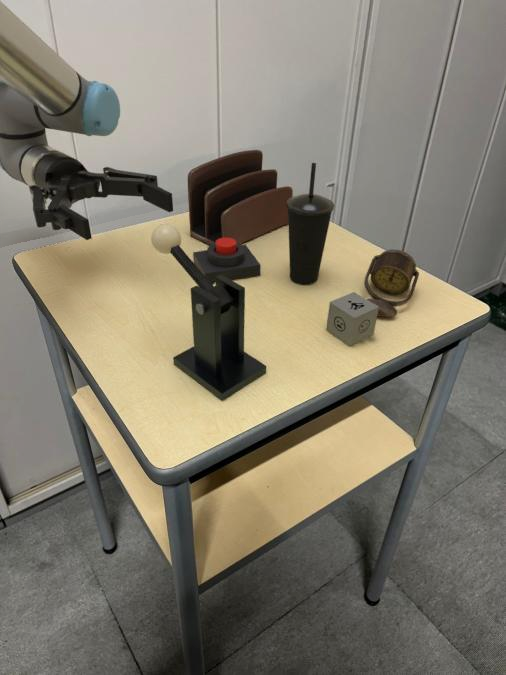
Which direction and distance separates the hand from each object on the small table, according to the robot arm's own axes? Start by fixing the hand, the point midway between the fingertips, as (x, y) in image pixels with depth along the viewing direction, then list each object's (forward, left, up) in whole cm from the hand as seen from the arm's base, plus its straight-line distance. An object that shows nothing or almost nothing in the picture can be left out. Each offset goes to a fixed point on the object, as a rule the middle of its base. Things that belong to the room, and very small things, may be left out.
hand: (131, 215), depth 72 cm
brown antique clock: (+38, -8, -16) cm, 42 cm away
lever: (+5, -12, -4) cm, 13 cm away
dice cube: (+28, -15, -16) cm, 36 cm away
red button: (+16, +9, -12) cm, 22 cm away
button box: (+16, +9, -16) cm, 25 cm away
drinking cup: (+28, +2, -16) cm, 33 cm away
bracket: (+7, -17, -16) cm, 24 cm away
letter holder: (+24, +24, -16) cm, 38 cm away
